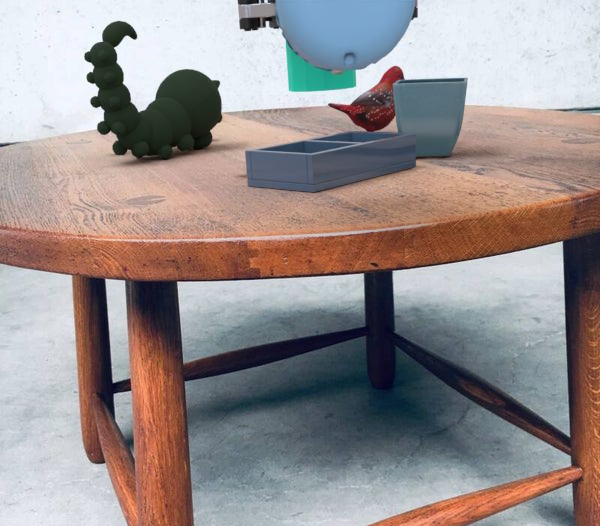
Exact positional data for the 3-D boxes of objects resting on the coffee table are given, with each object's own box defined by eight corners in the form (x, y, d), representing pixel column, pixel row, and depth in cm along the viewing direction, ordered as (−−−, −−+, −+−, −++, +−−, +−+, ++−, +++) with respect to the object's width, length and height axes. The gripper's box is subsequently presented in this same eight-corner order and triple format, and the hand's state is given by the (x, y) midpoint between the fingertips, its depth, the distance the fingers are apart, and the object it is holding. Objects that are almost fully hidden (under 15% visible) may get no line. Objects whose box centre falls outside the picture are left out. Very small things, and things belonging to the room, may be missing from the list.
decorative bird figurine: (413, 136, 133) (413, 64, 129) (337, 152, 121) (335, 73, 117) (397, 136, 134) (397, 64, 131) (321, 151, 122) (318, 73, 119)
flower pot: (466, 149, 117) (467, 76, 113) (465, 159, 109) (467, 80, 105) (398, 151, 118) (397, 79, 115) (393, 161, 110) (392, 83, 107)
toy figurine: (142, 181, 117) (251, 139, 135) (114, 24, 109) (235, 2, 127) (90, 178, 122) (202, 137, 140) (59, 28, 113) (183, 6, 132)
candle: (338, 90, 76) (330, -69, 71) (276, 92, 79) (265, -61, 74) (367, 84, 81) (362, -65, 76) (308, 86, 84) (300, -58, 79)
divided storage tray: (416, 167, 105) (415, 133, 104) (314, 192, 92) (312, 154, 91) (351, 162, 111) (350, 130, 110) (247, 186, 98) (244, 150, 97)
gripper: (201, 71, 62) (222, 60, 84) (468, 54, 62) (420, 47, 84) (190, -50, 59) (214, -30, 81) (470, -67, 59) (420, -42, 81)
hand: (319, 9), depth 82 cm, fingers closed on candle, 5 cm apart
